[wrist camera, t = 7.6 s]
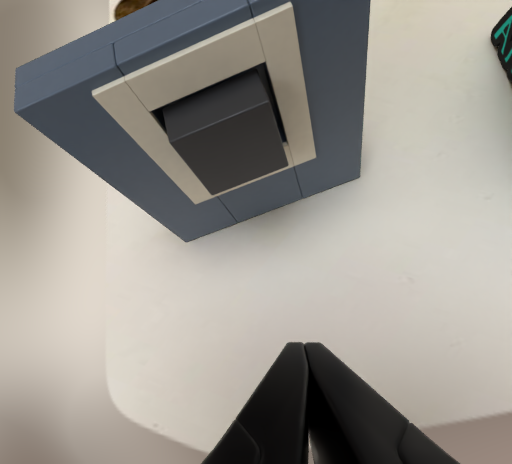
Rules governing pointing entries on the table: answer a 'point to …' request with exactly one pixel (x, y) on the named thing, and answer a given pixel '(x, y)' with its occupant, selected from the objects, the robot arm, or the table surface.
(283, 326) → the table surface
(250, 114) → the switch button
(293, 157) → the wall panel
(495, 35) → the decorative sign
